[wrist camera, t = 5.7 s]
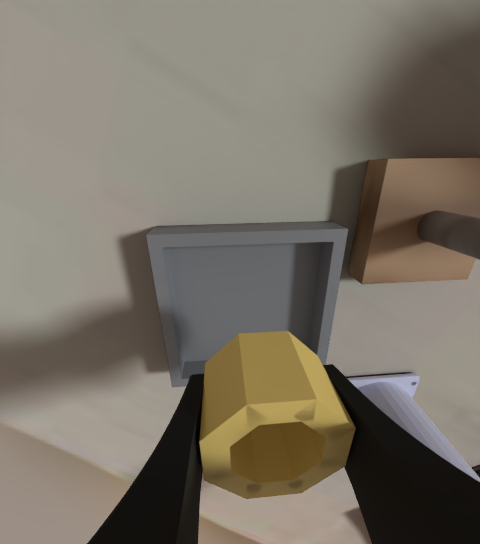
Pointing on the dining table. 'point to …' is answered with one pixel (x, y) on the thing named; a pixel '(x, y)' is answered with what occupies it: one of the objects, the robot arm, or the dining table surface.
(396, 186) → the block
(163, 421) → the dining table surface
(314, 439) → the ring
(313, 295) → the tray
